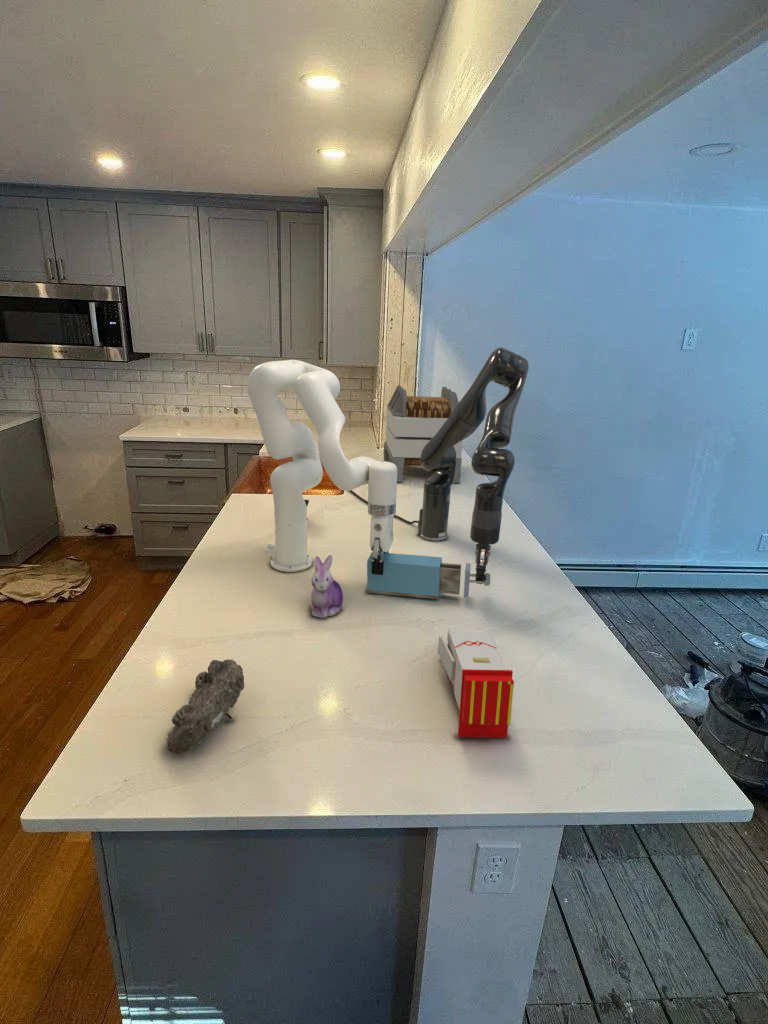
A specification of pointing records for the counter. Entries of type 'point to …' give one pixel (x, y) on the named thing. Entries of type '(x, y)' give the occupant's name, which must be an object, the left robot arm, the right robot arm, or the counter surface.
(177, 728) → the fossil
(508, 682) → the toy
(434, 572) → the cabinet
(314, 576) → the figurine
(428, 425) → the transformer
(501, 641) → the counter surface
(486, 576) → the drawer
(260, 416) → the left robot arm
